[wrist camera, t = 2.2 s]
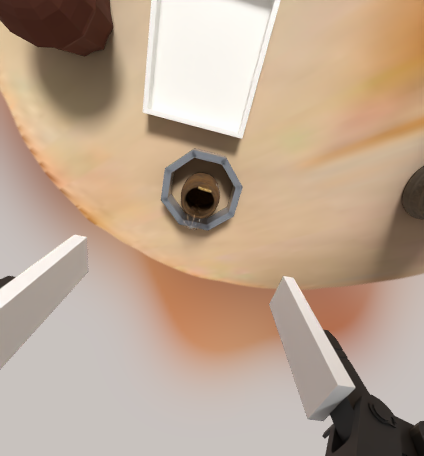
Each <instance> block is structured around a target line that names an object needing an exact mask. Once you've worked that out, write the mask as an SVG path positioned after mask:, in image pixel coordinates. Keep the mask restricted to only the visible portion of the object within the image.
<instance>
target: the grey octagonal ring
mask: <svg viewBox="0 0 424 456" xmlns="http://www.w3.org/2000/svg"><path fill="white" fill-rule="evenodd" d="M193 158H198V159H202V160H206V161H210V162H214V163H218V164H222V165H223V167H224V169H225V171H226V172H227V174H228V176H229V178H230V179H231V181H232V183H233V188H232V192H231V195H230V199H229V202H228V206H227V207H226V208H224V209H222V210H220V211H219V212H217V213H215V214H213V215H212V216H210V217H208V218H202V219H198V218H193V217H191V216H189V215H188V214H187V213H185V212H184V211H183V210H182V208H181V207H180V205H179V204H178V203H177V201H176V200H175V199H174V197H173V196H172V194H171V191H172V184H173V178H174V171H175V170H176V169H178V168H179V167H181V166H182V165H184V164H185V163H187V162H188V161H190V160H191V159H193ZM241 191H242V185H241V183H240V182H239V180H238V178H237V176H236V174H235V173H234V171H233V169H232V167H231V165H230V164H229V162H228V160H227V158H226V156H223V155H219V154H215V153H211V152H207V151H203V150H199V149H196V148H194V149H193V150H191V151H190V152H188V153H187V154H185V155H184V156H182V157H181V158H179V159H178V160H177V161H175V162H174V163H172V164H171V165H169V166H168V167H166V168H165V172H164V180H163V187H162V195H161V201H162V202H163V203H164V205H165V206H166V207H167V209H168V210H169V211H170V213H171V214H172V215H173V217H174V218H175V219H176V221H177V222H178V223H179V224H180V225H185V226H187V225H188V226H190V227H192V226H193V227H198V228H199V229H203V230H210V229H212V228H213V227H215V226H217V225H219V224H221V223H222V222H224V221H226V220H228V219H230V218H231V217H233V216H234V213H235V210H236V207H237V204H238V200H239V197H240V194H241ZM185 214H186V215H185ZM184 217H185V218H184ZM187 217H188V218H187ZM186 219H187V220H186ZM192 219H194V220H193V221H192ZM199 220H200V221H199ZM188 221H189V222H188ZM198 221H199V222H198ZM201 221H202V222H201ZM184 222H186V224H187V225H186V224H185V223H184ZM192 222H193V223H192ZM191 223H192V224H191ZM195 224H196V225H195ZM197 224H198V226H197ZM191 225H192V226H191ZM194 225H195V226H194ZM199 226H200V227H199Z"/></svg>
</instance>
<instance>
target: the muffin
mask: <svg viewBox="0 0 424 456" xmlns="http://www.w3.org/2000/svg"><path fill="white" fill-rule="evenodd" d="M0 21H1V22H2V23H3V24H4V25H5V26H6V27H7V28H8V29H9V31H10V32H12V33H14V34H16V35H17V36H19V37H21V38H23V39H25V40H26V41H28V42H30V43H32V44H34V45H35V46H37V47H51V48H57V49H60V50H64V51H68V52H71V53H75V54H78V55H82V56H87V55H89V54H90V53H92V52H94V51H99V50H103V49H104V47H105V44H106V41H107V38H108V36H109V34H110V32H111V31H112V29H113V23H112V18H111V13H110V0H0Z"/></svg>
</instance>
